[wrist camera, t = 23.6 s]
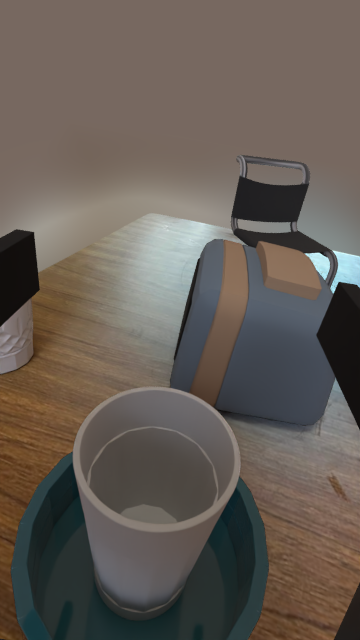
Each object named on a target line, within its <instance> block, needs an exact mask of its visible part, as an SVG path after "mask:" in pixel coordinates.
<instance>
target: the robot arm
mask: <svg viewBox="0 0 360 640" xmlns="http://www.w3.org/2000/svg"><path fill="white" fill-rule="evenodd" d="M39 290H40V288H39V278H38V268H37V259H36V248H35V239H34V232H29V231H23V230H14V231H12V232H11V233H9V234H7V235H5V236H3V237H1V238H0V327H1V326H2V325H3V324H4V323H5V322H6V321H7V320H8V319H9V318H10V317H11V316H12V315H13V314H14V313H16V312H17V311H18V310H19V309H20V308H21V307H22V306H23V305H24V304H25V303H26V302H27V301H28V300H29V299H30V298H31V297H32V296H34V295H35V294H36V293H37V292H38V291H39ZM316 336H317V338H318V341H319V343H320V345H321V347H322V349H323V351H324V354H325V356H326V358H327V360H328V362H329V364H330V367H331V369H332V371H333V373H334V375H335V377H336V380H337V382H338V384H339V386H340V388H341V390H342V392H343V395H344V397H345V399H346V401H347V403H348V405H349V408H350V410H351V412H352V414H353V416H354V418H355V421H356V423H357V425H358V427H359V429H360V288H359V287H358V286H357V285H355V284H349V283H342V282H339V283H338V285H337V287H336V290H335V292H334V294H333V297H332V299H331V301H330V304H329V306H328V309H327V311H326V313H325V316H324V318H323V320H322V323H321V325H320V327H319V330H318V332H317V334H316ZM0 640H4V639H0ZM334 640H360V583H359V586H358V588H357V590H356V592H355V594H354V597H353V599H352V601H351V603H350V605H349V608H348V610H347V612H346V614H345V616H344V619H343V621H342V623H341V625H340V627H339V630H338V632H337V634H336V636H335V638H334Z"/></svg>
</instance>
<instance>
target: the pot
mask: <svg viewBox="0 0 360 640" xmlns="http://www.w3.org/2000/svg"><path fill="white" fill-rule="evenodd" d="M268 572H269V563H268V554H267V546H266V537H265V528H264V523H263V521H262V518H261V516H260V513H259V511H258V508H257V506H256V504H255V501H254V499H253V496H252V494H251V491H250V490H249V488H248V487H247V486H246V484H245V483H244V482H243V480H242V479H241V478H240V476H239V479H238V482H237V485H236V488H235V490H234V492H233V494H232V496H231V497H230V499H229V501H228V503H227V505H226V506H225V508H224V510H223V512H222V513H221V515H220V517H219V519H218V521H217V522H216V524H215V526H214V528H213V530H212V532H211V534H210V536H209V538H208V540H207V541H206V543H205V545H204V547H203V549H202V551H201V553H200V555H199V557H198V559H197V561H196V563H195V565H194V566H193V568H192V570H191V572H190V574H189V576H188V578H187V580H186V584H185V586H184V589H183V591H182V593H181V595H180V596H179V598H178V599H177V601H176V602H175V603H174V604H173V605H172V607H170V608H169V609H168V610H167V611H166V612H164V613H163V614H161V615H159V616H157V617H155V618H152V619H149V620H143V621H135V620H129V619H126V618H123V617H121V616H119V615H117V614H116V613H114V612H113V611H112V610H111V609H110V608H109V607H108V606H107V605H106V604H105V603H104V601H103V600H102V598H101V596H100V594H99V592H98V590H97V587H96V583H95V578H94V564H93V558H92V553H91V548H90V543H89V538H88V532H87V527H86V522H85V517H84V512H83V508H82V504H81V499H80V495H79V490H78V486H77V481H76V477H75V472H74V467H73V451H72V452H71V453H69V454H68V455H66V456H65V457H63V458H62V459H61V460H60V461H59V463H58V464H57V465H56V466H55V467H54V468H53V469H52V470H51V472H50V473H49V474H48V475H47V476H46V477H45V478H44V479H43V481H42V482H41V483H40V484H39V485H38V487H37V489H36V491H35V493H34V495H33V497H32V499H31V501H30V503H29V505H28V507H27V509H26V511H25V513H24V515H23V517H22V519H21V521H20V524H19V526H18V532H17V537H16V543H15V548H14V554H13V559H12V565H11V578H12V585H13V593H14V600H15V608H16V615H17V621H18V624H19V627H20V630H21V633H22V635H23V638H24V640H248V638H249V636H250V635H251V633H252V631H253V629H254V627H255V625H256V623H257V621H258V620H259V618H260V614H261V612H262V606H263V600H264V595H265V589H266V583H267V577H268Z"/></svg>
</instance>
